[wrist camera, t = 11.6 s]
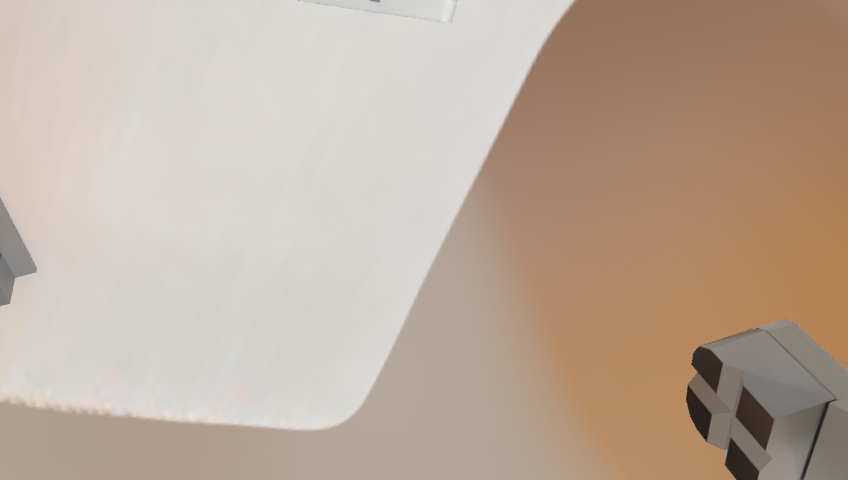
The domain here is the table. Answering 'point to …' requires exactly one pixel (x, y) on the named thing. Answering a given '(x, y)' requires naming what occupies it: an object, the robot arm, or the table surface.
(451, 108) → the table surface
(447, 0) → the hard drive
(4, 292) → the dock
